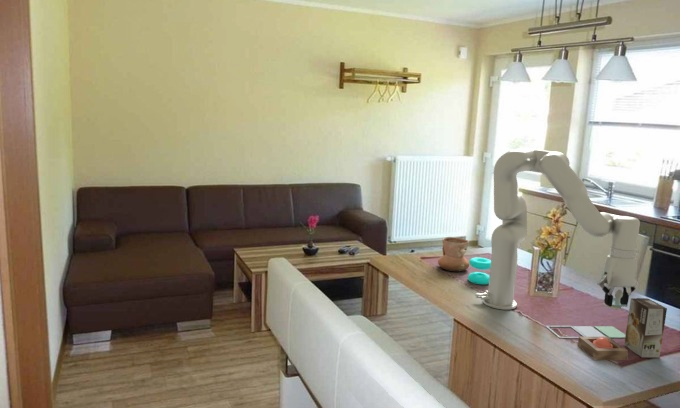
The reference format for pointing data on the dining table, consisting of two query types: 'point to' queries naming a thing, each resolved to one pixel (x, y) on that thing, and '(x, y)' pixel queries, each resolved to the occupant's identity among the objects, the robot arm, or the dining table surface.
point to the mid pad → (589, 331)
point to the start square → (564, 326)
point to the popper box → (602, 349)
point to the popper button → (602, 343)
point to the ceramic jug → (454, 254)
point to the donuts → (479, 276)
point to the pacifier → (616, 301)
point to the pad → (610, 331)
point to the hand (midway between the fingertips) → (615, 304)
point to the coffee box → (645, 327)
